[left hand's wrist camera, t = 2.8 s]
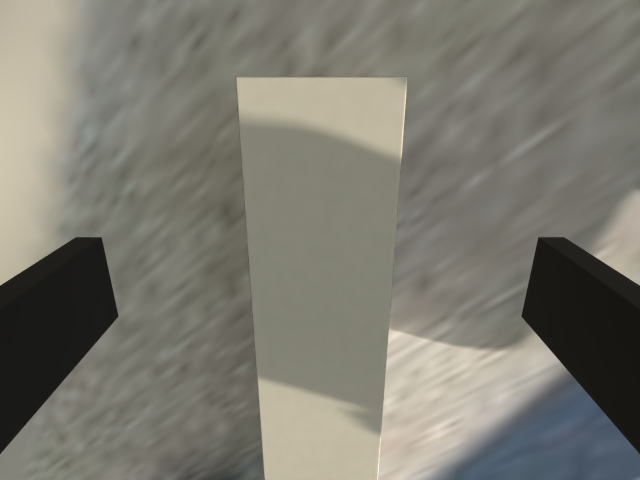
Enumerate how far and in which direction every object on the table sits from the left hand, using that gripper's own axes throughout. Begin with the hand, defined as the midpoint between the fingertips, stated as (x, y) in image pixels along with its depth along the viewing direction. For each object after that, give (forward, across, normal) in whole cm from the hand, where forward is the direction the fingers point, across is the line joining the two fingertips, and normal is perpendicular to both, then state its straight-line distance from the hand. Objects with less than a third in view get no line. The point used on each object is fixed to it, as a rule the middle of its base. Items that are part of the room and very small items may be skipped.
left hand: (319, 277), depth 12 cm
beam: (+12, 0, -35) cm, 37 cm away
